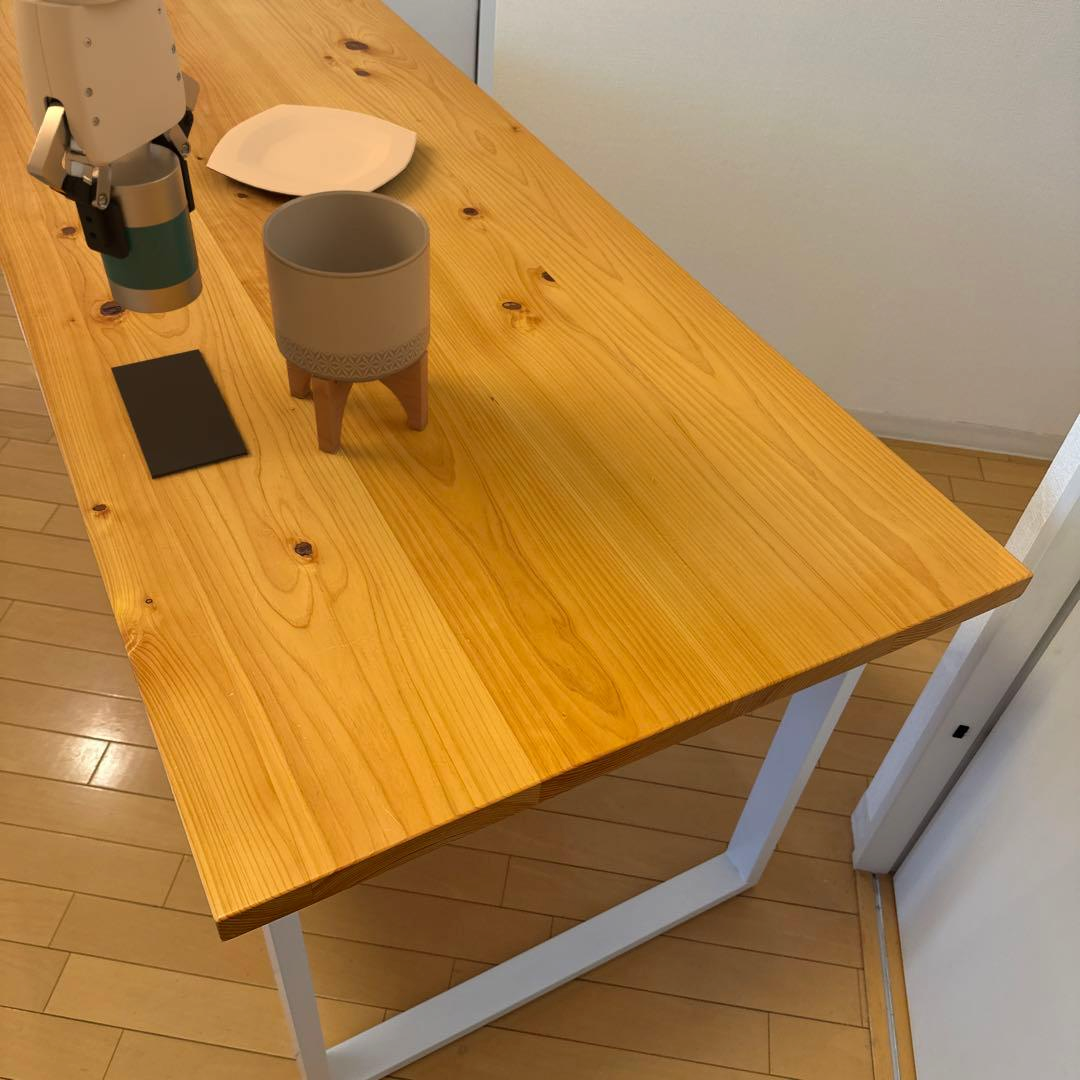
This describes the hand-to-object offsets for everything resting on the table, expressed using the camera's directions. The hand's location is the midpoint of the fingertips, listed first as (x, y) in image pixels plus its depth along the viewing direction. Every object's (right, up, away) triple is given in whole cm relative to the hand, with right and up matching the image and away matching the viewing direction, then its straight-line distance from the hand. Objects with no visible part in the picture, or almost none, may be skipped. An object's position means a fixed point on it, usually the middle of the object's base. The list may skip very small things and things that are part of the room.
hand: (143, 227), depth 73 cm
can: (0, -4, +4) cm, 5 cm away
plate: (+1, +23, +50) cm, 56 cm away
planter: (+12, -11, +19) cm, 25 cm away
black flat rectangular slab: (-3, -11, +16) cm, 20 cm away
